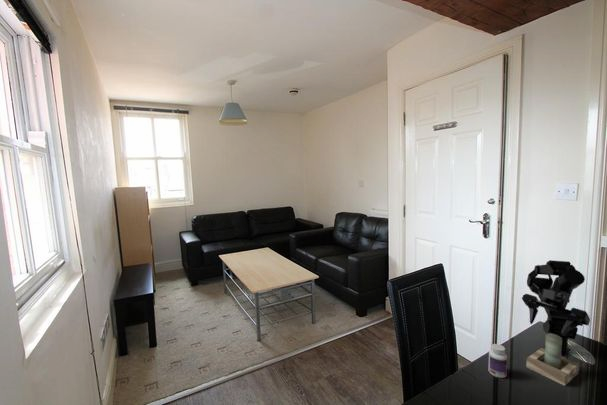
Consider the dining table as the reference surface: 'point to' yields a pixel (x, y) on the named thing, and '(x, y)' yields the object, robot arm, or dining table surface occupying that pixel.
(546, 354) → the peg
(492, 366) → the pill bottle
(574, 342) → the dining table surface
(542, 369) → the holder
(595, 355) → the dining table surface
